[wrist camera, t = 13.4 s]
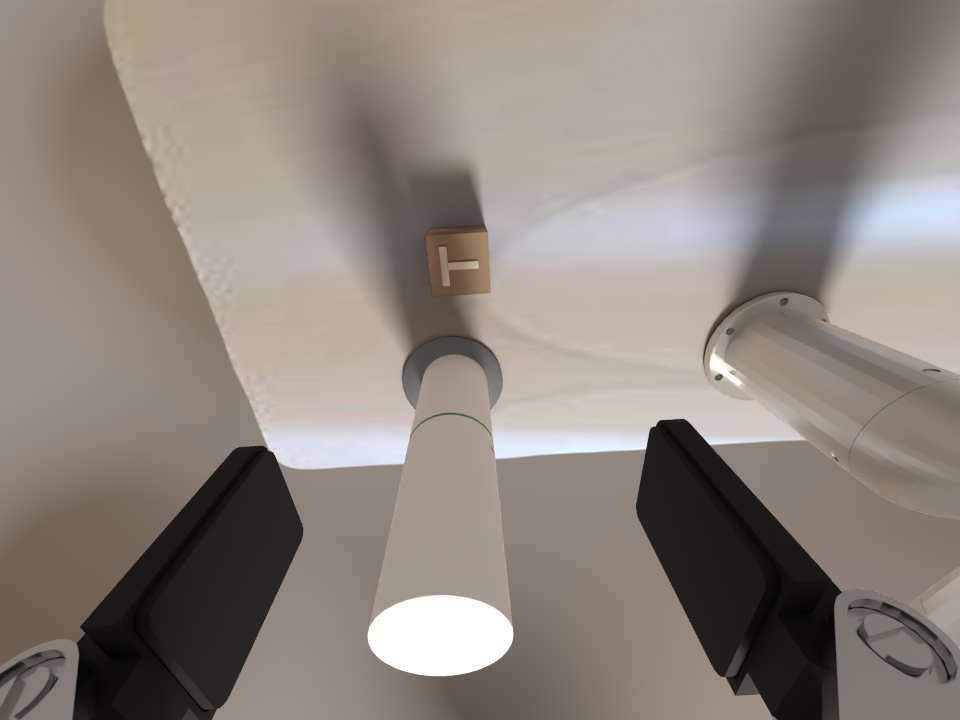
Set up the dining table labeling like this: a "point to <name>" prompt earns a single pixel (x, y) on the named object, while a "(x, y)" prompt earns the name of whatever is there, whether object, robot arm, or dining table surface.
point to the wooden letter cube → (458, 260)
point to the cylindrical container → (445, 536)
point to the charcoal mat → (450, 347)
